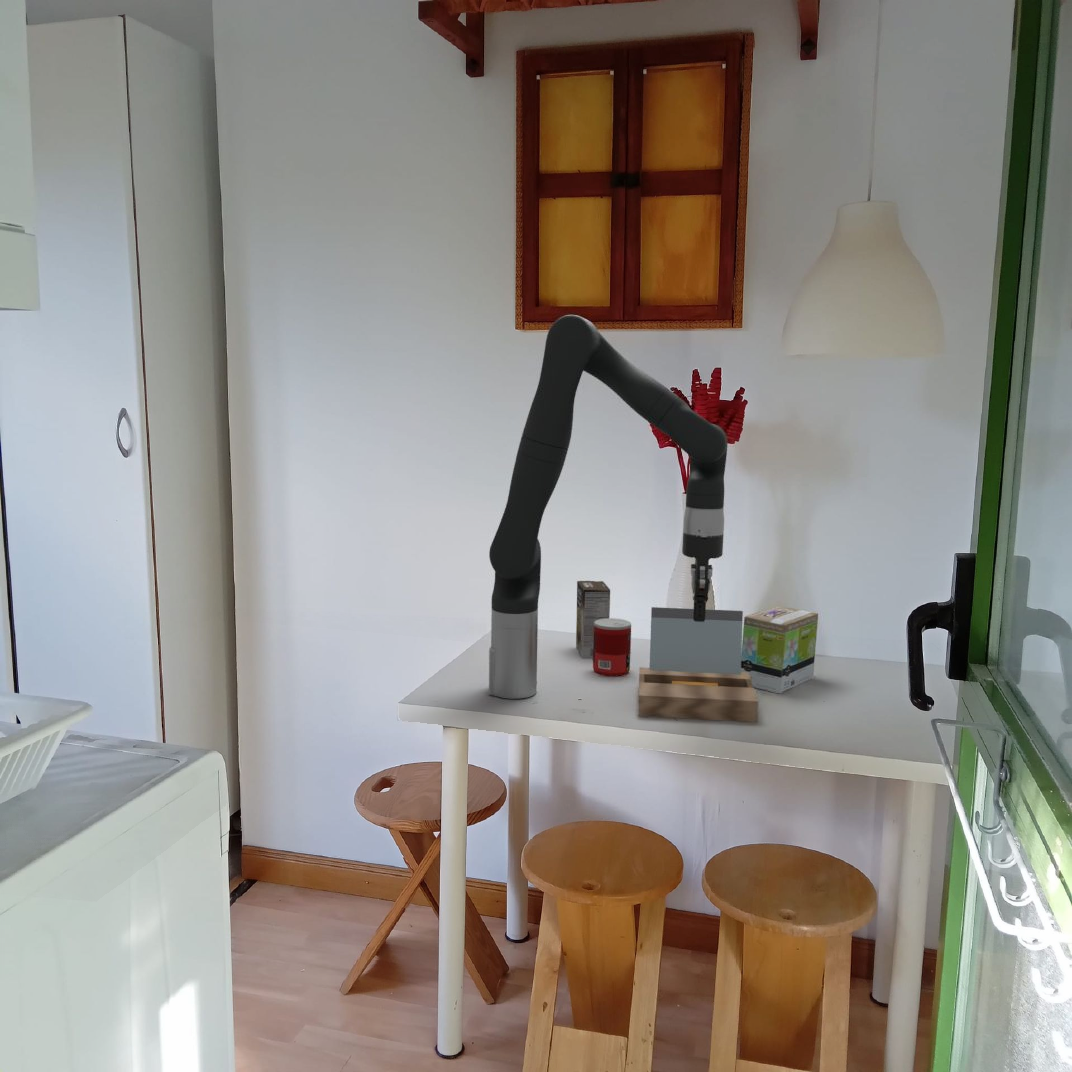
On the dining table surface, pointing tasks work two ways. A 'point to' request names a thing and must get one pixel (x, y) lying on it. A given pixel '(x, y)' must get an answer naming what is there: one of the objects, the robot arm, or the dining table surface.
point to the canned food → (611, 647)
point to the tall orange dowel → (694, 683)
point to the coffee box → (590, 613)
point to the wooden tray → (697, 696)
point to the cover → (696, 641)
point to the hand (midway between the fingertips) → (698, 620)
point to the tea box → (779, 647)
